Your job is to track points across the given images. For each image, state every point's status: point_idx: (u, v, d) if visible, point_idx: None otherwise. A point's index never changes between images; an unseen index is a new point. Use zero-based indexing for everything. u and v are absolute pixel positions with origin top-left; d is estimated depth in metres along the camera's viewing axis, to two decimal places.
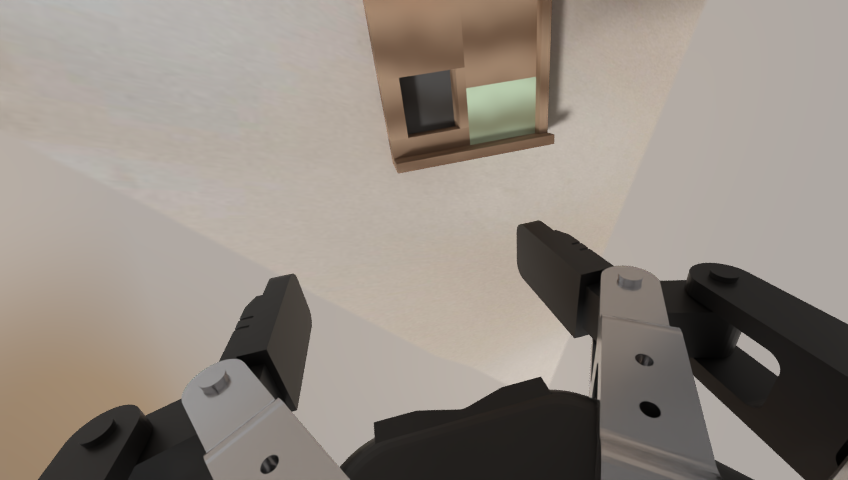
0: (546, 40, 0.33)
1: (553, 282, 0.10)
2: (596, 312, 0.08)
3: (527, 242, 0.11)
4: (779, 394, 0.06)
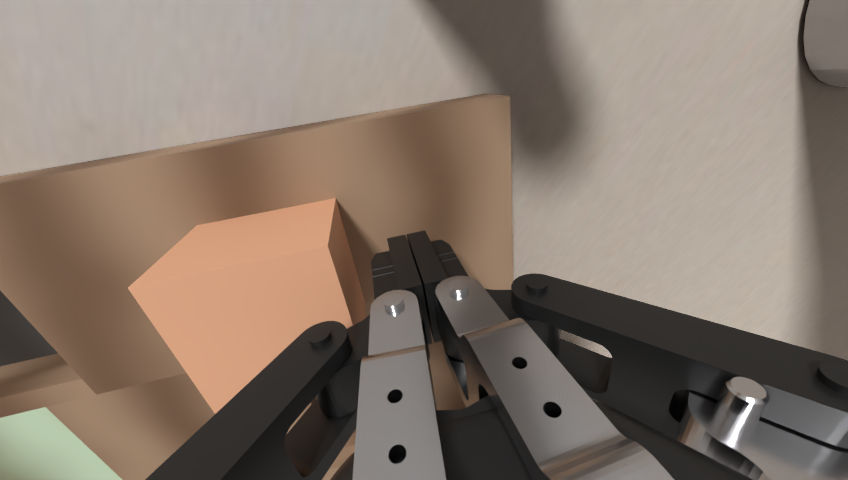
0: None
1: None
2: (438, 319, 0.09)
3: (410, 251, 0.12)
4: (617, 376, 0.07)
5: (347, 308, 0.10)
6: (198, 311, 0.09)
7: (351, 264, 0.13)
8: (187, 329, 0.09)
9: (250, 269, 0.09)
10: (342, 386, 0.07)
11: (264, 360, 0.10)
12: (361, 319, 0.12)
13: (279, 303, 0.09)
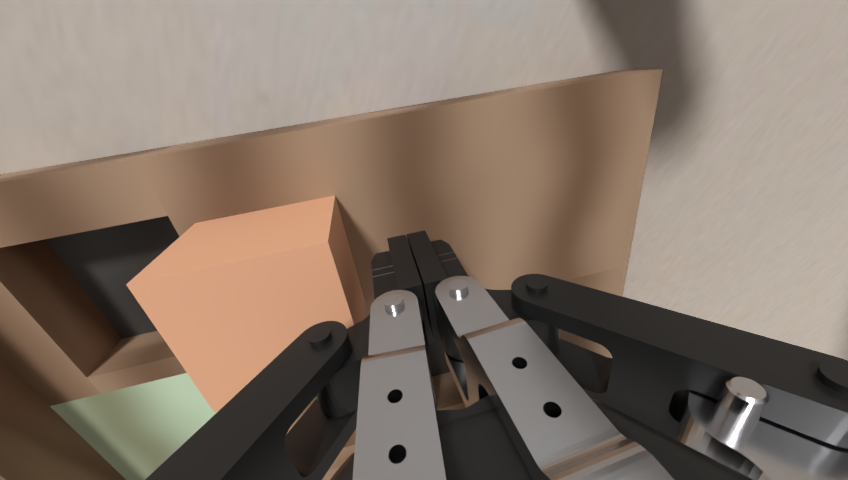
0: (325, 477, 0.18)
1: None
2: (438, 319, 0.09)
3: (410, 251, 0.12)
4: (616, 376, 0.07)
5: (347, 305, 0.10)
6: (197, 308, 0.09)
7: (351, 261, 0.13)
8: (186, 326, 0.09)
9: (250, 266, 0.08)
10: (342, 386, 0.07)
11: (263, 358, 0.10)
12: (361, 316, 0.12)
13: (279, 299, 0.09)
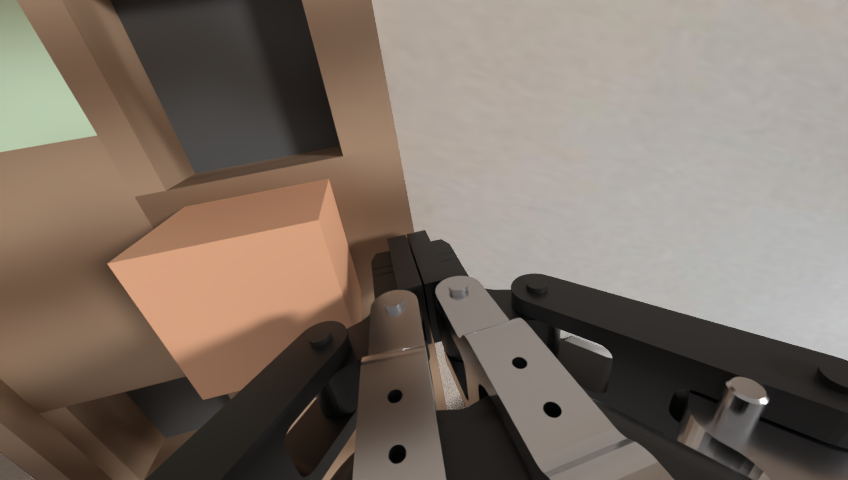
0: None
1: None
2: (438, 319, 0.09)
3: (410, 251, 0.12)
4: (616, 376, 0.07)
5: None
6: (289, 269, 0.09)
7: None
8: (263, 257, 0.08)
9: (339, 311, 0.10)
10: (342, 386, 0.07)
11: (218, 315, 0.09)
12: None
13: (302, 329, 0.10)
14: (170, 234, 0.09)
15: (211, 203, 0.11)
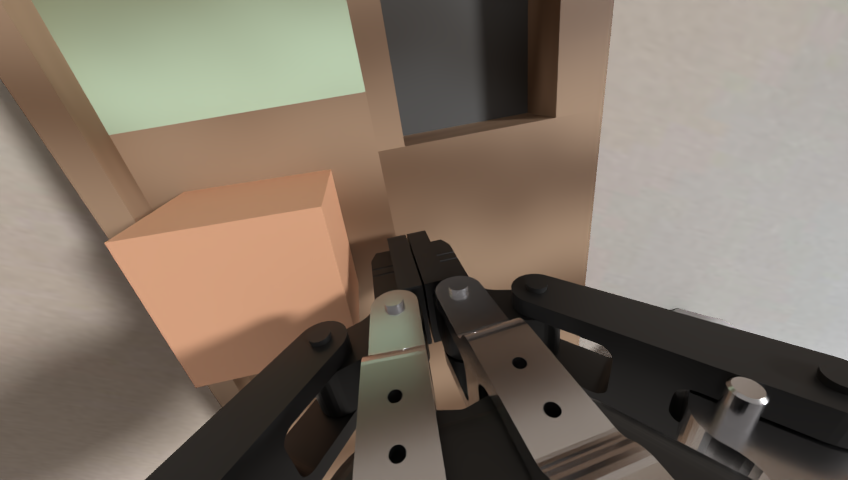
0: None
1: None
2: (438, 319, 0.09)
3: (410, 251, 0.12)
4: (616, 376, 0.07)
5: None
6: (289, 255, 0.09)
7: None
8: (264, 242, 0.08)
9: (338, 300, 0.09)
10: (342, 386, 0.07)
11: (215, 301, 0.09)
12: None
13: (300, 318, 0.09)
14: (169, 217, 0.09)
15: (211, 189, 0.11)
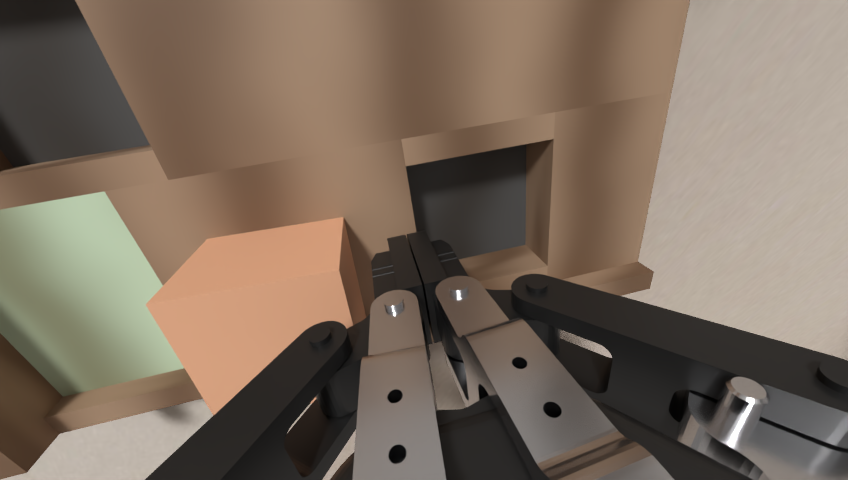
0: None
1: None
2: (438, 319, 0.09)
3: (410, 251, 0.12)
4: (616, 376, 0.07)
5: None
6: (211, 327, 0.09)
7: (355, 280, 0.13)
8: (199, 344, 0.09)
9: (264, 290, 0.09)
10: (342, 386, 0.07)
11: None
12: None
13: (289, 321, 0.09)
14: None
15: None
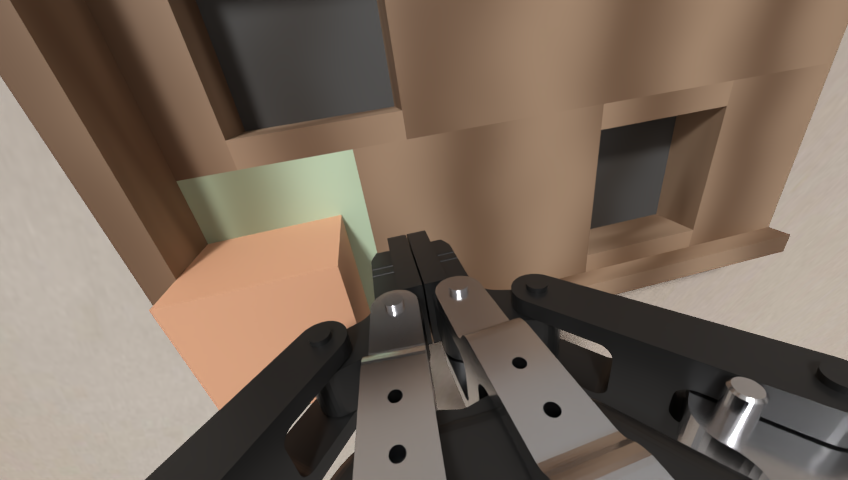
0: None
1: None
2: (438, 319, 0.09)
3: (410, 251, 0.12)
4: (616, 376, 0.07)
5: (356, 323, 0.10)
6: (215, 330, 0.09)
7: (357, 278, 0.13)
8: (204, 347, 0.09)
9: (265, 290, 0.09)
10: (342, 386, 0.07)
11: None
12: None
13: (292, 320, 0.10)
14: None
15: None
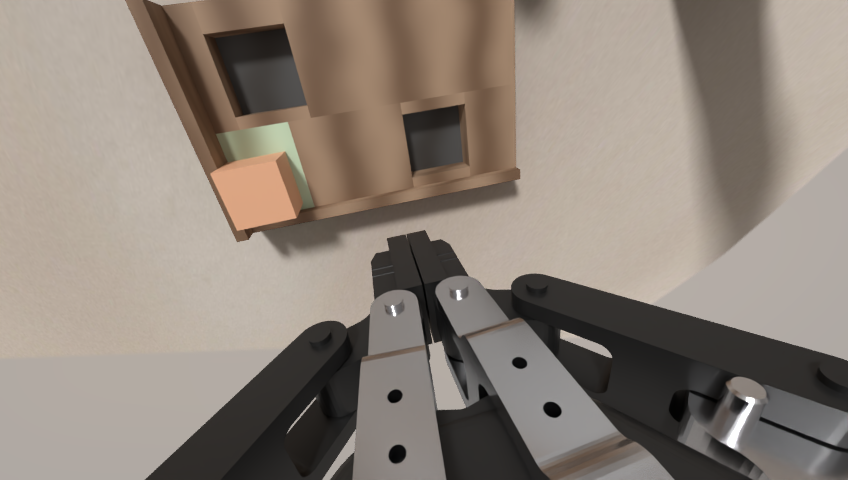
0: (348, 208, 0.31)
1: None
2: (438, 319, 0.09)
3: (410, 251, 0.12)
4: (616, 376, 0.07)
5: (284, 186, 0.27)
6: (232, 184, 0.26)
7: (293, 180, 0.30)
8: (228, 191, 0.26)
9: (249, 168, 0.25)
10: (342, 386, 0.07)
11: (255, 207, 0.27)
12: (296, 201, 0.29)
13: (259, 182, 0.26)
14: None
15: None
